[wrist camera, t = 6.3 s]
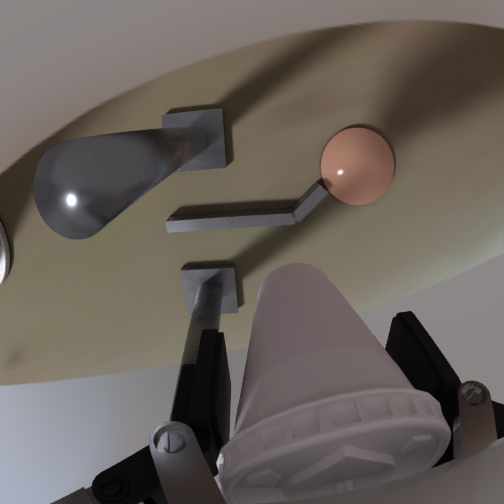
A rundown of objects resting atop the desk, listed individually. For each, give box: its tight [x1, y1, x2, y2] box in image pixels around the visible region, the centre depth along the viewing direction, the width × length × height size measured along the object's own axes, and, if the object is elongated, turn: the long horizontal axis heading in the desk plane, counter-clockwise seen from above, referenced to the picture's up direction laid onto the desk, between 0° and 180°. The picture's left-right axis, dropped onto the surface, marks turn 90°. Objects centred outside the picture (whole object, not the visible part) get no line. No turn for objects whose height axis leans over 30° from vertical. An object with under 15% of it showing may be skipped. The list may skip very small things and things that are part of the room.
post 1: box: [33, 108, 227, 239], centre depth 15 cm, size 5×5×20 cm
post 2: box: [169, 264, 238, 421], centre depth 21 cm, size 5×5×20 cm
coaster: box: [320, 128, 394, 205], centre depth 25 cm, size 7×7×1 cm
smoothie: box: [216, 263, 451, 504], centre depth 8 cm, size 6×6×14 cm
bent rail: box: [166, 182, 328, 233], centre depth 26 cm, size 14×3×2 cm, turn 93°
